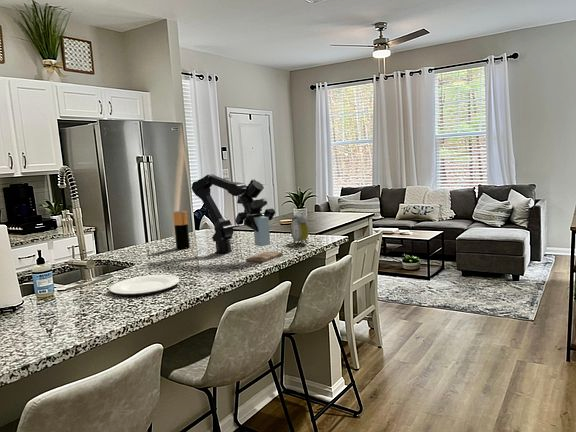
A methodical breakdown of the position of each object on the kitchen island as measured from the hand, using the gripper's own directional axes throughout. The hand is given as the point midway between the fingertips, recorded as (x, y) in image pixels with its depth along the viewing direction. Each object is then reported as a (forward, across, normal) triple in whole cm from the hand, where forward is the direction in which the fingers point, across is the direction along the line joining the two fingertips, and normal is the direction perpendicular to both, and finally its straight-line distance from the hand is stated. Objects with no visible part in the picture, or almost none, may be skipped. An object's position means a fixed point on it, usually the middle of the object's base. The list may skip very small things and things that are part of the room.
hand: (263, 230), depth 203 cm
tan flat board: (+8, +1, +10) cm, 13 cm away
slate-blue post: (+4, 0, +6) cm, 7 cm away
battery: (-31, -16, +50) cm, 61 cm away
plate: (+14, -56, +5) cm, 58 cm away
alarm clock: (-3, +33, +22) cm, 40 cm away
